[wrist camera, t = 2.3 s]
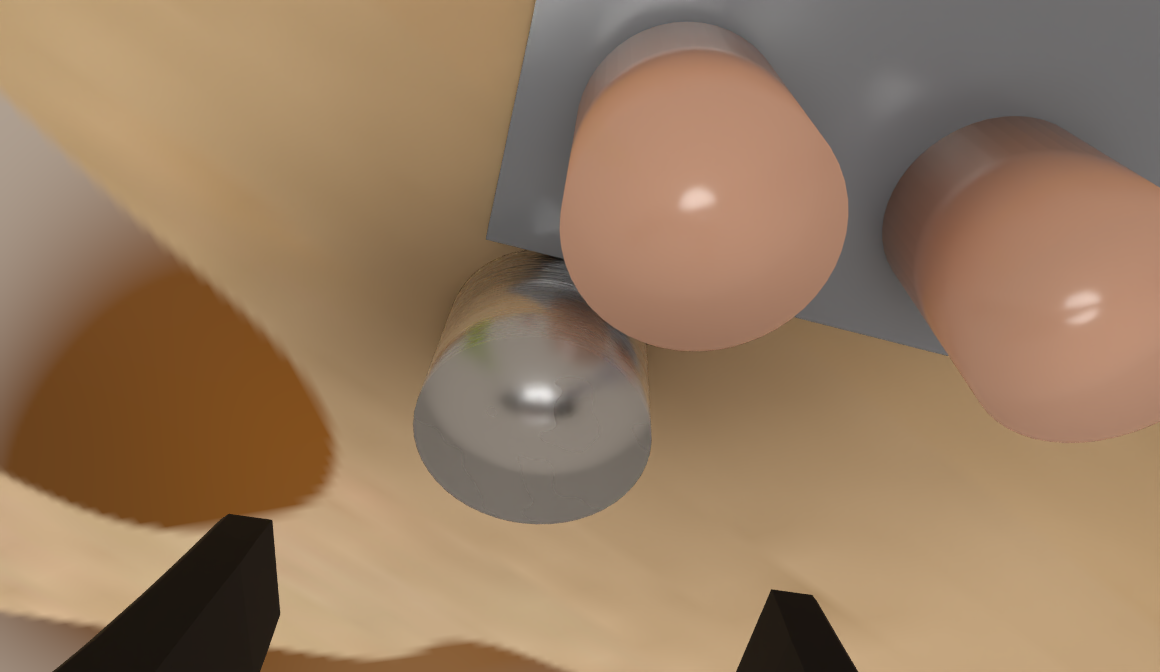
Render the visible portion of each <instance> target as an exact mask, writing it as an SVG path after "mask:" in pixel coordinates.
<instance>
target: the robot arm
mask: <svg viewBox="0 0 1160 672" xmlns="http://www.w3.org/2000/svg"><path fill="white" fill-rule="evenodd" d="M279 616H280V605H279V594H278V582H277V570H276V558H275V547H274V535H273V523H272V520H269V519H262V518H254V517H247V516H240V515H233V514H228V515H226V516H225V517H223V518H222V519H221V520H220V521H219V522H218V523H216V524H215V525H214V526H213V527H212V528H211V529H210V530H209V531H208V532H207V533H206V534H205V535H204V536H203V537H202V538H201V539H200V540H199V541H198V542H197V543H196V544H195V545H194V546H193V547H192V548H191V549H190V550H189V551H188V552H187V553H186V554H185V555H183V556H182V557H181V558H180V559H179V560H178V561H177V562H176V563H175V564H174V565H173V566H172V567H171V568H170V569H169V570H168V571H167V572H166V573H164V574H163V575H162V576H161V577H160V578H159V579H158V580H157V581H156V582H155V583H154V584H153V585H152V586H151V587H149V588H148V589H147V590H146V591H145V592H144V593H143V594H142V595H141V596H140V597H139V598H137V599H136V600H135V601H134V602H133V603H132V604H131V605H130V606H128V607H127V608H126V609H125V610H124V611H123V612H122V613H121V614H119V615H118V616H117V617H116V618H115V619H114V620H113V621H112V622H111V623H109V624H108V625H107V626H106V627H105V628H104V629H103V630H102V631H100V632H99V633H98V634H97V635H96V636H95V637H94V638H93V639H91V640H90V641H89V642H88V643H87V644H86V645H84V647H82V648H81V649H80V650H79V651H78V652H76V653H75V654H74V655H72V656H71V657H70V658H69V659H68V660H66V661H65V662H64V663H63V664H62V665H60V666H59V667H58V668H57V669H55V670H54V671H53V672H260V670H261V667H262V665H263V662H264V659H265V656H266V654H267V651H268V648H269V645H270V642H271V639H272V636H273V634H274V631H275V628H276V625H277V622H278V619H279ZM736 672H858V671H857V669H856V667H855V666H854V664H853V662H852V661H851V659H850V657H849V655H848V654H847V652H846V650H845V649H844V647H843V645H842V644H841V642H840V640H839V638H838V637H837V635H836V633H835V632H834V630H833V628H832V626H831V625H830V623H829V621H828V620H827V618H826V616H825V614H824V613H823V611H822V609H821V608H820V606H819V604H818V602H817V601H816V599H815V598H814V597H813V595H808V594H800V593H793V592H786V591H779V590H772V589H771V592H770V594H769V596H768V599H767V601H766V603H765V606H764V608H763V610H762V613H761V615H760V617H759V620H758V622H757V624H756V627H755V629H754V631H753V634H752V636H751V638H750V641H749V643H748V645H747V648H746V650H745V652H744V655H743V657H742V659H741V662H740V664H739V666H738V669H737V671H736Z"/></svg>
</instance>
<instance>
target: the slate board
mask: <svg viewBox="0 0 1160 672" xmlns="http://www.w3.org/2000/svg"><path fill="white" fill-rule="evenodd" d="M673 22H702V23H707V24H711V25H716V26H719V27H722V28H724V29H727V30H730V31H732V32H733V33H735V34H737V35H739V36H741V37H743V38H744V39H745V40H747V41H748V42H749V43H751V44H752V45H753V46H755V48H756V49H757V50H758V51H759V52H760V53H761V54H762V55H763V56H764V57H765V58H766V59H767V61H768V62H769V64H770V65H771V66H772V68H773V69H774V70H775V72H776V73H777V75H778V76H779V77H780V79H781V80H782V81H783V83H784V84H785V86H786V87H787V88H788V90H789V91H790V92H791V94H792V95H793V97H794V98H795V99H796V101H797V102H798V103H799V105H800V106H801V107H802V109H803V110H804V112H805V113H806V114H807V116H808V117H809V118H810V120H811V121H812V123H813V124H814V125H815V127H816V128H817V129H818V131H819V132H820V134H821V135H822V136H823V138H824V139H825V140H826V142H827V143H828V145H829V146H830V147H831V149H832V151H833V153H834V155H835V157H836V159H837V161H838V163H839V165H840V168H841V171H842V174H843V177H844V180H845V184H846V190H847V196H848V224H847V232H846V237H845V240H844V244H843V248H842V251H841V254H840V256H839V259H838V261H837V263H836V266H835V268H834V270H833V271H832V273H831V275H830V277H829V278H828V280H827V282H826V283H825V284H824V286H823V287H822V288H821V290H820V291H819V292H818V294H817V295H816V296H815V297H814V298H813V300H812V301H811V302H810V303H809V304H808V305H807V306H806V307H805V308H804V309H803V310H802V311H800V312H799V313H798V314H797V315H796V316H794V317H796V318H800V319H804V320H808V321H812V322H816V323H820V324H823V325H827V326H831V327H835V328H839V329H843V330H847V331H851V332H855V333H859V334H863V335H867V336H871V337H875V338H879V339H883V340H887V341H891V342H895V343H899V344H903V345H907V346H911V347H915V348H919V349H923V350H927V351H931V352H935V353H938V354H942V355H946V356H949V355H948V354H947V352H946V351H945V349H944V348H943V346H942V345H941V343H940V342H939V340H938V339H937V337H936V336H935V334H934V333H933V331H932V330H931V328H930V327H929V325H928V324H927V322H926V321H925V319H924V318H923V316H922V315H921V313H920V312H919V310H918V308H917V307H916V305H915V304H914V302H913V301H912V299H911V298H910V296H909V295H908V293H907V292H906V290H905V289H904V287H903V286H902V284H901V283H900V281H899V280H898V278H897V277H896V275H895V274H894V272H893V271H892V269H891V267H890V265H889V263H888V261H887V258H886V255H885V252H884V247H883V241H882V227H883V220H884V214H885V211H886V207H887V204H888V201H889V199H890V197H891V194H892V192H893V190H894V189H895V187H896V185H897V183H898V182H899V180H900V178H901V177H902V176H903V174H904V173H905V172H906V170H907V169H908V168H909V167H910V166H911V165H912V163H913V162H914V161H915V160H916V159H917V158H918V157H919V156H920V155H921V154H923V153H924V152H925V151H926V150H927V149H928V148H929V147H931V146H932V145H933V144H935V143H936V142H938V141H939V140H941V139H942V138H944V137H945V136H947V135H949V134H951V133H953V132H954V131H956V130H958V129H961V128H963V127H966V126H968V125H970V124H973V123H976V122H980V121H983V120H987V119H992V118H998V117H1008V116H1023V117H1032V118H1037V119H1042V120H1045V121H1048V122H1051V123H1053V124H1056V125H1058V126H1059V127H1061V128H1063V129H1065V130H1066V131H1068V132H1070V133H1071V134H1073V135H1075V136H1076V137H1078V138H1079V139H1081V140H1083V141H1084V142H1086V143H1088V144H1089V145H1091V146H1093V147H1094V148H1096V149H1097V150H1099V151H1101V152H1102V153H1104V154H1106V155H1107V156H1109V157H1111V158H1112V159H1114V160H1115V161H1117V162H1119V163H1120V164H1122V165H1124V166H1125V167H1127V168H1129V169H1130V170H1132V171H1133V172H1135V173H1137V174H1138V175H1140V176H1142V177H1143V178H1145V179H1147V180H1148V181H1150V182H1151V183H1153V184H1155V185H1156V186H1158V187H1160V0H536V3H535V8H534V13H533V18H532V22H531V27H530V32H529V37H528V41H527V46H526V51H525V56H524V60H523V65H522V70H521V75H520V79H519V84H518V89H517V94H516V98H515V103H514V108H513V113H512V117H511V122H510V127H509V131H508V136H507V141H506V146H505V150H504V155H503V160H502V165H501V169H500V174H499V179H498V184H497V188H496V193H495V198H494V203H493V207H492V212H491V217H490V222H489V226H488V231H487V236H486V240H490V241H494V242H498V243H502V244H506V245H510V246H514V247H518V248H522V249H526V250H530V251H534V252H538V253H542V254H546V255H550V256H554V257H558V258H562V259H564V257H563V252H562V248H561V240H560V213H561V207H562V201H563V195H564V189H565V183H566V177H567V171H568V165H569V159H570V153H571V147H572V141H573V135H574V129H575V123H576V118H577V112H578V107H579V103H580V100H581V97H582V94H583V92H584V89H585V87H586V85H587V83H588V81H589V79H590V78H591V76H592V74H593V73H594V71H595V70H596V68H597V67H598V66H599V65H600V63H601V62H602V61H603V60H604V59H605V58H606V56H607V55H608V54H610V53H611V52H612V51H613V50H614V49H615V48H616V47H617V46H619V45H620V44H621V43H623V42H624V41H626V40H627V39H629V38H630V37H632V36H634V35H636V34H638V33H640V32H642V31H644V30H647V29H650V28H652V27H655V26H658V25H663V24H668V23H673Z"/></svg>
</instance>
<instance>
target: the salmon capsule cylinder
mask: <svg viewBox="0 0 1160 672" xmlns="http://www.w3.org/2000/svg"><path fill="white" fill-rule="evenodd" d="M882 241H883V247H884V252H885V255H886V258H887V261H888V263H889V265H890V267H891V269H892V271H893V272H894V274H895V275H896V277H897V278H898V280H899V281H900V283H901V284H902V286H903V287H904V289H905V290H906V292H907V293H908V295H909V296H910V298H911V299H912V301H913V302H914V304H915V305H916V307H917V308H918V310H919V312H920V313H921V315H922V316H923V318H924V319H925V321H926V322H927V324H928V325H929V327H930V328H931V330H932V331H933V333H934V334H935V336H936V337H937V339H938V340H939V342H940V343H941V345H942V346H943V348H944V349H945V351H946V352H947V354H948V355H949V357H950V358H951V360H952V361H953V363H954V364H955V366H956V367H957V369H958V370H959V372H960V374H961V375H962V377H963V378H964V380H965V381H966V383H967V384H968V386H969V387H970V389H971V390H972V392H973V393H974V395H975V396H976V398H977V399H978V401H979V402H980V404H981V405H982V406H983V407H984V409H985V410H986V411H987V413H988V414H990V415H991V416H992V417H993V418H994V419H995V420H996V421H997V422H999V423H1000V424H1002V425H1003V426H1005V427H1006V428H1008V429H1010V430H1012V431H1014V432H1017V433H1019V434H1021V435H1024V436H1027V437H1031V438H1034V439H1038V440H1044V441H1049V442H1062V443H1079V442H1091V441H1099V440H1104V439H1109V438H1114V437H1119V436H1122V435H1125V434H1129V433H1132V432H1135V431H1138V430H1140V429H1143V428H1146V427H1148V426H1151V425H1153V424H1155V423H1157V422H1159V421H1160V187H1158V186H1156V185H1155V184H1153V183H1151V182H1150V181H1148V180H1147V179H1145V178H1143V177H1142V176H1140V175H1138V174H1137V173H1135V172H1133V171H1132V170H1130V169H1129V168H1127V167H1125V166H1124V165H1122V164H1120V163H1119V162H1117V161H1115V160H1114V159H1112V158H1111V157H1109V156H1107V155H1106V154H1104V153H1102V152H1101V151H1099V150H1097V149H1096V148H1094V147H1093V146H1091V145H1089V144H1088V143H1086V142H1084V141H1083V140H1081V139H1079V138H1078V137H1076V136H1075V135H1073V134H1071V133H1070V132H1068V131H1066V130H1065V129H1063V128H1061V127H1059V126H1058V125H1056V124H1053V123H1051V122H1048V121H1045V120H1042V119H1037V118H1032V117H1023V116H1008V117H998V118H992V119H987V120H983V121H980V122H976V123H973V124H970V125H968V126H966V127H963V128H961V129H958V130H956V131H954V132H953V133H951V134H949V135H947V136H945V137H944V138H942V139H941V140H939V141H938V142H936V143H935V144H933V145H932V146H931V147H929V148H928V149H927V150H926V151H925V152H924V153H923V154H921V155H920V156H919V157H918V158H917V159H916V160H915V161H914V162H913V163H912V165H911V166H910V167H909V168H908V169H907V170H906V172H905V173H904V174H903V176H902V177H901V178H900V180H899V182H898V183H897V185H896V187H895V189H894V190H893V192H892V194H891V197H890V199H889V201H888V204H887V207H886V211H885V214H884V220H883V227H882Z"/></svg>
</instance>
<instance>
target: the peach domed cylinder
mask: <svg viewBox="0 0 1160 672" xmlns="http://www.w3.org/2000/svg"><path fill="white" fill-rule="evenodd" d="M847 224H848V196H847V190H846V184H845V180H844V177H843V174H842V171H841V168H840V165H839V163H838V161H837V159H836V157H835V155H834V153H833V151H832V149H831V147H830V146H829V145H828V143H827V142H826V140H825V139H824V138H823V136H822V135H821V134H820V132H819V131H818V129H817V128H816V127H815V125H814V124H813V123H812V121H811V120H810V118H809V117H808V116H807V114H806V113H805V112H804V110H803V109H802V107H801V106H800V105H799V103H798V102H797V101H796V99H795V98H794V97H793V95H792V94H791V92H790V91H789V90H788V88H787V87H786V86H785V84H784V83H783V81H782V80H781V79H780V77H779V76H778V75H777V73H776V72H775V70H774V69H773V68H772V66H771V65H770V64H769V62H768V61H767V59H766V58H765V57H764V56H763V55H762V54H761V53H760V52H759V51H758V50H757V49H756V48H755V46H753V45H752V44H751V43H749V42H748V41H747V40H745V39H744V38H743V37H741V36H739V35H737V34H735V33H733V32H732V31H730V30H727V29H724V28H722V27H719V26H716V25H711V24H707V23H702V22H673V23H668V24H663V25H658V26H655V27H652V28H650V29H647V30H644V31H642V32H640V33H638V34H636V35H634V36H632V37H630V38H629V39H627V40H626V41H624V42H623V43H621V44H620V45H619V46H617V47H616V48H615V49H614V50H613V51H612V52H611V53H610V54H608V55H607V56H606V58H605V59H604V60H603V61H602V62H601V63H600V65H599V66H598V67H597V68H596V70H595V71H594V73H593V74H592V76H591V78H590V79H589V81H588V83H587V85H586V87H585V89H584V92H583V94H582V97H581V100H580V103H579V107H578V112H577V118H576V123H575V129H574V135H573V141H572V147H571V153H570V159H569V165H568V171H567V177H566V183H565V189H564V195H563V201H562V207H561V213H560V240H561V248H562V252H563V257H564V261H565V264H566V267H567V269H568V272H569V274H570V277H571V279H572V281H573V283H574V284H575V286H576V288H577V290H578V292H579V293H580V294H581V296H582V297H583V298H584V300H585V301H586V302H587V304H588V305H589V306H590V307H591V308H592V309H593V310H594V311H595V312H596V313H597V314H598V315H599V316H600V317H601V318H602V319H603V320H605V321H606V322H607V323H609V324H610V325H611V326H613V327H614V328H616V329H617V330H619V331H621V332H622V333H624V334H626V335H627V336H630V337H632V338H634V339H637V340H639V341H641V342H644V343H647V344H650V345H653V346H657V347H661V348H666V349H672V350H680V351H711V350H717V349H724V348H729V347H733V346H737V345H741V344H744V343H747V342H749V341H752V340H755V339H757V338H760V337H762V336H764V335H766V334H768V333H770V332H772V331H774V330H776V329H777V328H779V327H780V326H782V325H783V324H785V323H786V322H788V321H789V320H791V319H792V318H793V317H794V316H796V315H797V314H798V313H799V312H800V311H802V310H803V309H804V308H805V307H806V306H807V305H808V304H809V303H810V302H811V301H812V300H813V298H814V297H815V296H816V295H817V294H818V292H819V291H820V290H821V288H822V287H823V286H824V284H825V283H826V282H827V280H828V278H829V277H830V275H831V273H832V271H833V270H834V268H835V266H836V263H837V261H838V259H839V256H840V254H841V251H842V248H843V244H844V240H845V237H846V232H847Z"/></svg>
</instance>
